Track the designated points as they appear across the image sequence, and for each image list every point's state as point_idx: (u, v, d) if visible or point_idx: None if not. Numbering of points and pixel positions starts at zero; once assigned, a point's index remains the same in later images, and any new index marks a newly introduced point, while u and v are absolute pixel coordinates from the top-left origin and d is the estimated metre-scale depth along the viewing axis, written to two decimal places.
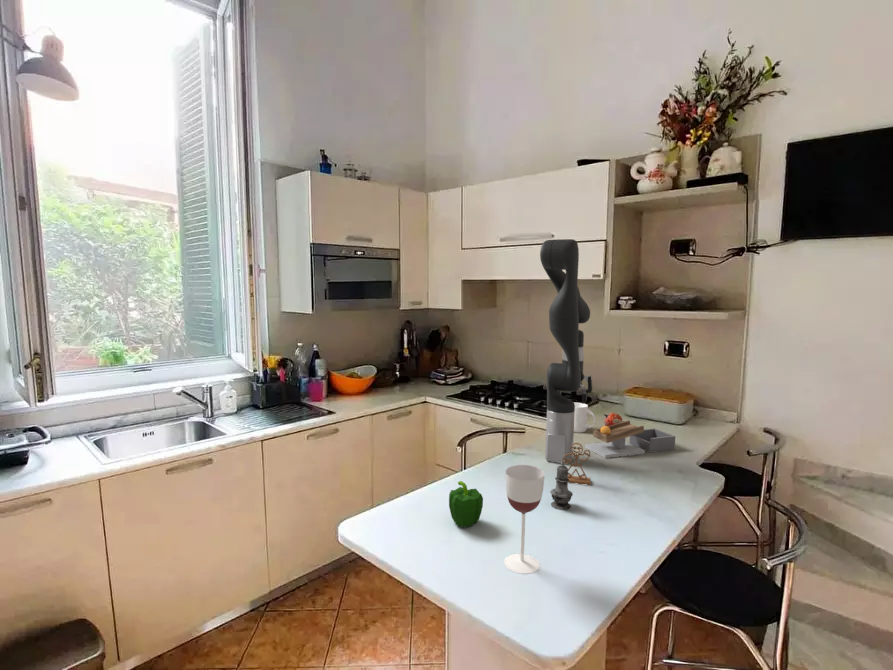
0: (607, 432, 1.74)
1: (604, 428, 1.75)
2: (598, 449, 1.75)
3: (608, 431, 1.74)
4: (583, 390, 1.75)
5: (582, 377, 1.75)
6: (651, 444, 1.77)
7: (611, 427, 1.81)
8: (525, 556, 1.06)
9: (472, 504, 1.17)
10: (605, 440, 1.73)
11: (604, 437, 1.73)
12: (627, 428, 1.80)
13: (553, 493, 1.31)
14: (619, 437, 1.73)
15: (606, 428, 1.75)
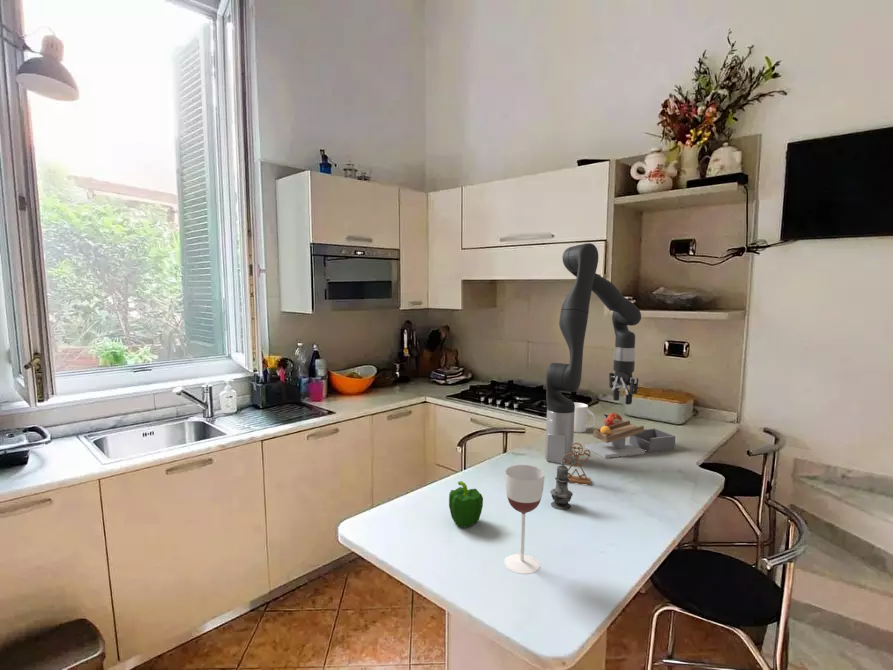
0: (607, 432, 1.74)
1: (604, 428, 1.75)
2: (598, 449, 1.75)
3: (608, 431, 1.74)
4: None
5: None
6: (651, 444, 1.77)
7: (611, 427, 1.81)
8: (525, 556, 1.06)
9: (472, 504, 1.17)
10: (605, 440, 1.73)
11: (604, 437, 1.73)
12: (627, 428, 1.80)
13: (553, 493, 1.31)
14: (619, 437, 1.73)
15: (606, 428, 1.75)
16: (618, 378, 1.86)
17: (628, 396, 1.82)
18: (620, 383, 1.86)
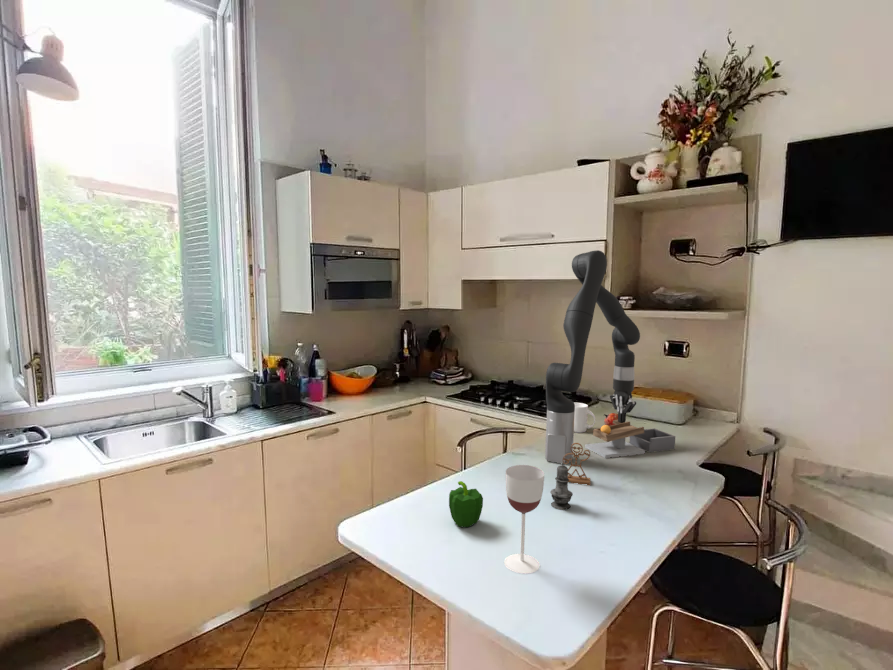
0: (607, 431, 1.74)
1: (604, 427, 1.75)
2: (598, 449, 1.75)
3: (608, 430, 1.74)
4: None
5: None
6: (651, 444, 1.77)
7: (611, 427, 1.81)
8: (525, 556, 1.06)
9: (472, 504, 1.17)
10: (605, 439, 1.73)
11: (604, 436, 1.73)
12: (627, 429, 1.80)
13: (553, 493, 1.31)
14: (619, 437, 1.73)
15: (606, 427, 1.75)
16: (618, 396, 1.87)
17: (622, 415, 1.86)
18: None
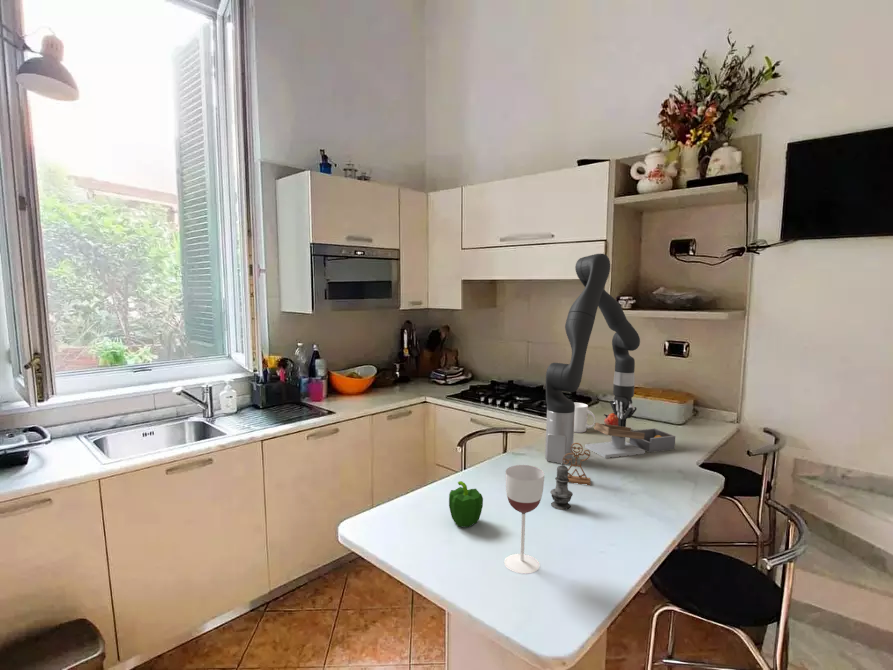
0: None
1: None
2: (598, 449, 1.75)
3: None
4: None
5: None
6: (651, 444, 1.77)
7: (612, 427, 1.81)
8: (525, 556, 1.06)
9: (472, 504, 1.17)
10: (606, 432, 1.73)
11: (606, 429, 1.73)
12: None
13: (553, 493, 1.31)
14: (620, 434, 1.73)
15: None
16: (618, 401, 1.87)
17: (622, 420, 1.86)
18: None
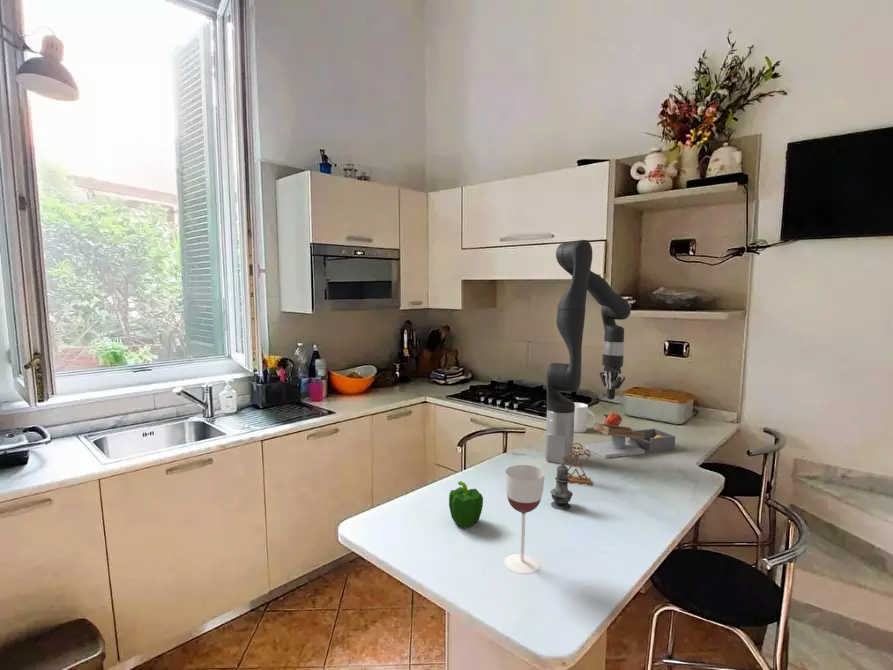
0: None
1: None
2: (598, 449, 1.75)
3: None
4: None
5: None
6: (651, 444, 1.77)
7: (612, 427, 1.81)
8: (525, 556, 1.06)
9: (472, 504, 1.17)
10: (606, 432, 1.73)
11: (606, 429, 1.73)
12: None
13: (553, 493, 1.31)
14: (620, 434, 1.73)
15: None
16: (607, 372, 1.85)
17: (611, 391, 1.84)
18: None
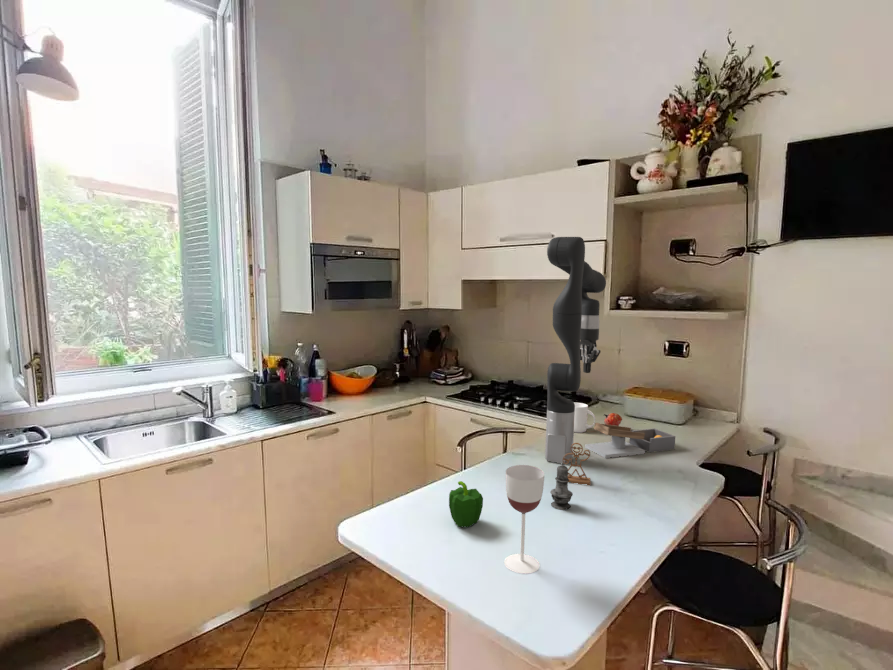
0: None
1: None
2: (598, 449, 1.75)
3: None
4: None
5: None
6: (651, 444, 1.77)
7: (612, 427, 1.81)
8: (525, 556, 1.06)
9: (472, 504, 1.17)
10: (606, 432, 1.73)
11: (606, 429, 1.73)
12: None
13: (553, 493, 1.31)
14: (620, 434, 1.73)
15: None
16: (583, 346, 1.85)
17: (587, 364, 1.84)
18: None
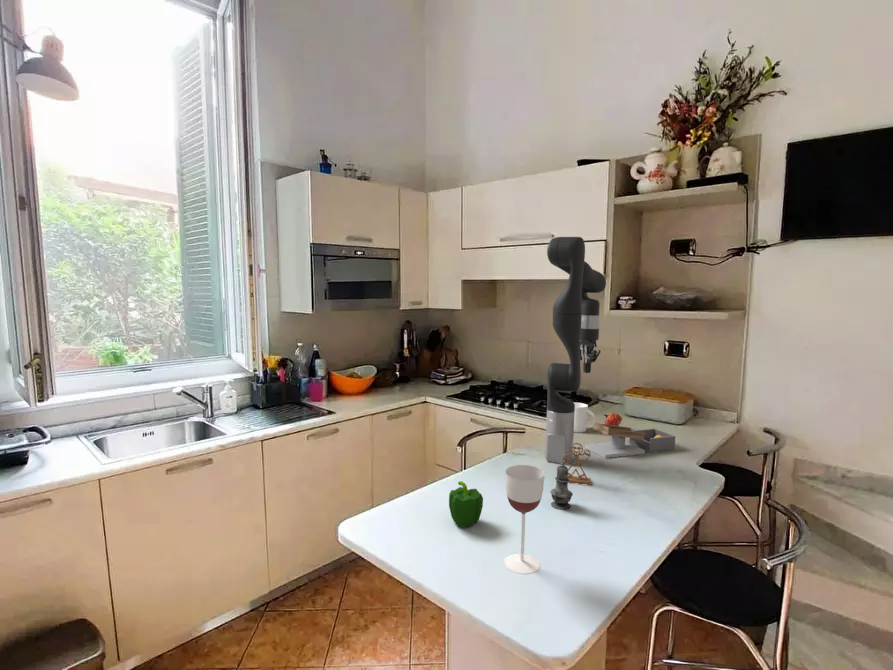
0: None
1: None
2: (598, 449, 1.75)
3: None
4: None
5: None
6: (651, 444, 1.77)
7: (612, 427, 1.81)
8: (525, 556, 1.06)
9: (472, 504, 1.17)
10: (606, 432, 1.73)
11: (606, 429, 1.73)
12: None
13: (553, 493, 1.31)
14: (620, 434, 1.73)
15: None
16: (583, 346, 1.85)
17: (587, 364, 1.84)
18: None
